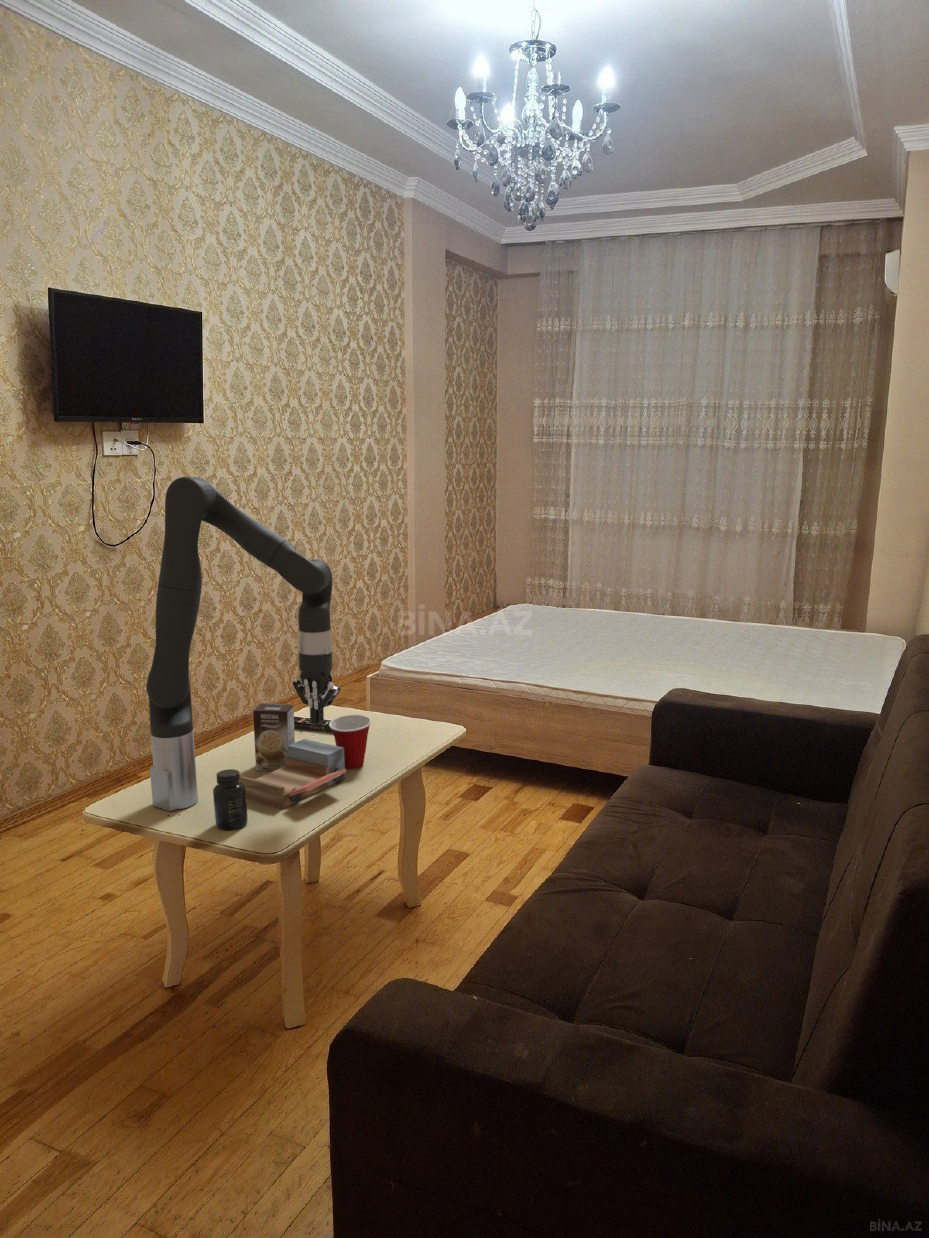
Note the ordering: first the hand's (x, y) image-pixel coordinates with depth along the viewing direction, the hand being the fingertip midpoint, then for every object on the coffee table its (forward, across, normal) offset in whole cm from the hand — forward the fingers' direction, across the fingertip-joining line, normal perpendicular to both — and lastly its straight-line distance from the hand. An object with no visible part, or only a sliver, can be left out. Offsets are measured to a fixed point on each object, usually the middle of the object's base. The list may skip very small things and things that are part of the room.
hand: (317, 723), depth 204 cm
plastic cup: (+19, -9, +22) cm, 31 cm away
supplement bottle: (+20, -8, -20) cm, 29 cm away
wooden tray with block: (+19, -10, +3) cm, 22 cm away
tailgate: (+16, -3, 0) cm, 16 cm away
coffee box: (+19, -25, +11) cm, 34 cm away
